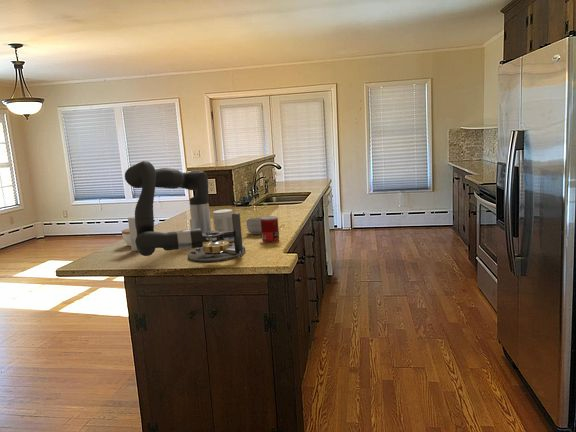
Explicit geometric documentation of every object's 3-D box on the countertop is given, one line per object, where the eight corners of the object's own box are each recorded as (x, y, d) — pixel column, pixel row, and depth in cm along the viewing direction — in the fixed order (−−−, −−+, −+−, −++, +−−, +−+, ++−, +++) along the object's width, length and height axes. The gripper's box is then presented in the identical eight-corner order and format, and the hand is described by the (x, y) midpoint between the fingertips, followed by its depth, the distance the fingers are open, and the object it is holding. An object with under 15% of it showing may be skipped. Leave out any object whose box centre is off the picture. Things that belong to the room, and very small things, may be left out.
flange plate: (175, 259, 190) (174, 248, 189) (211, 246, 210) (210, 235, 210) (223, 263, 178) (222, 251, 177) (256, 249, 199) (255, 237, 198)
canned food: (277, 242, 209) (275, 218, 208) (260, 242, 211) (258, 219, 209) (280, 238, 217) (279, 215, 215) (264, 239, 218) (262, 216, 217)
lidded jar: (124, 248, 218) (122, 229, 217) (122, 244, 228) (120, 226, 226) (147, 245, 222) (145, 226, 221) (145, 241, 232) (143, 223, 231)
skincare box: (142, 251, 210) (138, 217, 207) (130, 251, 212) (126, 217, 209) (153, 247, 217) (150, 214, 215) (142, 246, 220) (138, 214, 217)
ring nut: (198, 251, 193) (194, 213, 190) (216, 245, 201) (213, 209, 199) (232, 256, 181) (229, 216, 178) (251, 249, 189) (247, 211, 187)
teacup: (243, 235, 230) (242, 219, 229) (253, 231, 240) (251, 216, 239) (268, 236, 225) (267, 219, 224) (277, 231, 235) (276, 216, 234)
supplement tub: (233, 238, 226) (230, 208, 224) (238, 241, 217) (235, 210, 215) (213, 240, 223) (210, 210, 220) (217, 244, 214) (214, 213, 212)
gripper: (189, 232, 173) (235, 227, 177) (187, 226, 185) (230, 222, 190) (191, 251, 174) (237, 246, 178) (189, 245, 186) (231, 240, 191)
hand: (233, 233), depth 184 cm, fingers closed
